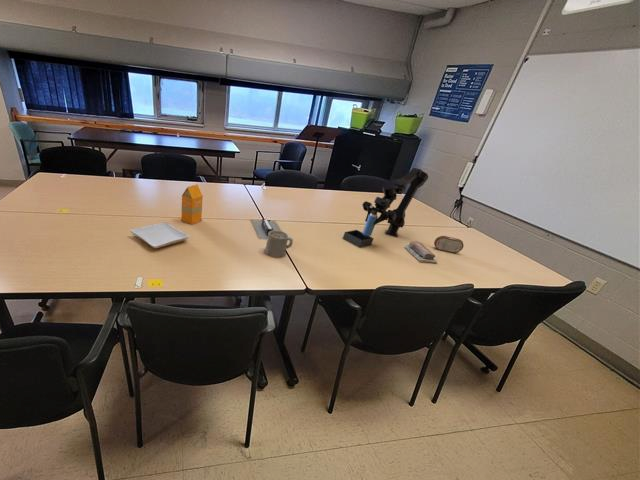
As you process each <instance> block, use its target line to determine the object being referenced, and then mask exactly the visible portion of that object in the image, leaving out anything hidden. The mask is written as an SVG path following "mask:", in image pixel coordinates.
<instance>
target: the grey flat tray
mask: <svg viewBox="0 0 640 480" xmlns="http://www.w3.org/2000/svg"><path fill="white" fill-rule="evenodd" d="M251 222H252V225H253V227H254V229H255V231H256V233H257V236H258V237H259V239H267V238H268V233H269V232H270V231H272V230H278V231H281V230H280V228H279V227H278V225H277V223H276V222H275V221H269V220H268V219H262V220H251Z"/></svg>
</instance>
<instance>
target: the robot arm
mask: <svg viewBox="0 0 640 480" xmlns="http://www.w3.org/2000/svg"><path fill="white" fill-rule="evenodd" d="M428 180H429V175H428V173H427V172H425V171H423V169H422V168H417V167H412V168H411V170H410V171H409V172H407V173H406V174H405V175H404V176H402V177H401V178H397V179H390V180H386V181H385V182H383V183H382V192H383V196H382V197H379V196H376V197H375V199H374V201H373V203H374V205H373V204H372V202H369V201H367V200H366V201H363V202H362V208H363V209H362V210H363V211H365V212H367V214H366V216H365V219H364V222H365V223H366V222H367V219H368V216H369V214H371V211H372V210H377V211H378V214H380V215H379V216H378V218H377V220H376V221H375V222H374V225H375V226H376V225H377V224H380V223H381V222H384V221H387V224H389V226H388V229H387V230H386V231H385V234H386V235H389V236H393V237H398V232H399V230H400V229H401V228H403V227H405V224H406V221H405V218H406V210H407V209H408V207H409V205H410V203H411V201H412V200H413V198H414V196H415V194H416V193H417V191H418V189H419V188H421V187H422V186H424V184H425V183H426V182H427V181H428ZM407 186H409V187H408V188H407ZM406 189H407V190H406ZM405 191H406V192H405ZM404 192H405V194H404V195H403V197H402V199H401V200H400V203H399V204H398V206H397V208H394V209H393V210H392V209H390V208H391V205H392V203H393V202H394V201H396V200H397V196H398V195H397V194H399V195H401V194H402V193H404Z"/></svg>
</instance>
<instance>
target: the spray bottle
mask: <svg viewBox="0 0 640 480" xmlns="http://www.w3.org/2000/svg"><path fill="white" fill-rule="evenodd" d="M378 214H379V212H378V211H377V210H372V211H371V214H369V216H368V219H367V222H365V225H364V227H363V230H362V233H363V234H364V235H366V236H370V237H372V235H373V231H374V229H375V226H376V225H374V222H375V221H376V220H377V219H378V218H379V216H378Z"/></svg>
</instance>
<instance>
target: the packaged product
mask: <svg viewBox="0 0 640 480" xmlns="http://www.w3.org/2000/svg"><path fill="white" fill-rule="evenodd" d="M404 248H405V249H406V250H407V251H408V252H409V253H410V254H411V255H412V256H413V257H414V258H416V260H417V261H419V262H420V263H434V264H438V260H437V259H435V258H436V255H435V253H433V252H432V251H431V250H430V249H429V248H427V247H426V245H424V244H423V242H420V241H416V240H415V241H414V240H413V241H410V242H409V243H408V244H406V245H405V246H404Z"/></svg>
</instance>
